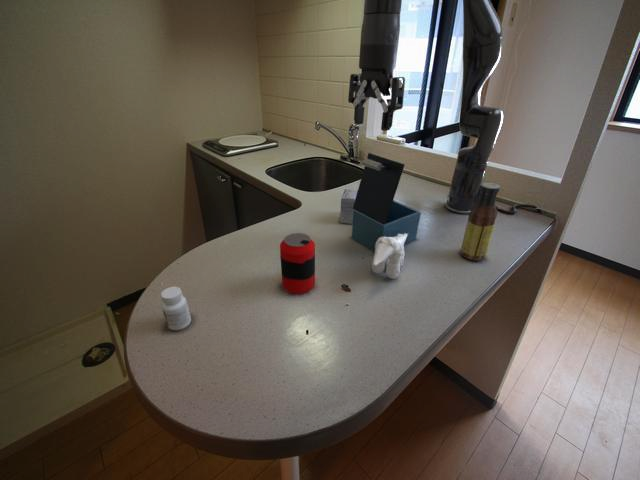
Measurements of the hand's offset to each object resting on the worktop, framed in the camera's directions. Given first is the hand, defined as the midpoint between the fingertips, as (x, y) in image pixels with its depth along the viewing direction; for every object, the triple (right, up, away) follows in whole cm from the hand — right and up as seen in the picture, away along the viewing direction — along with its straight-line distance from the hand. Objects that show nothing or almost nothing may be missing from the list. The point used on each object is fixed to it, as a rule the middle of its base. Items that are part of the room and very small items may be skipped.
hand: (371, 127), depth 72 cm
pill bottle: (-39, -42, -9) cm, 58 cm away
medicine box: (-2, -19, +31) cm, 37 cm away
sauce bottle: (+29, -30, +13) cm, 44 cm away
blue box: (+7, -25, +20) cm, 33 cm away
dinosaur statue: (+6, -33, +8) cm, 34 cm away
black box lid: (+3, -12, +9) cm, 16 cm away
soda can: (-17, -36, +2) cm, 40 cm away
